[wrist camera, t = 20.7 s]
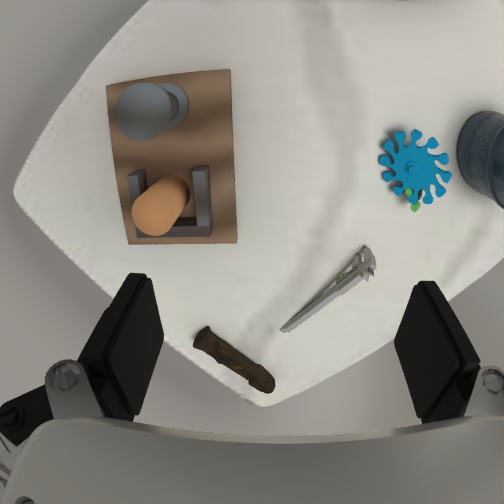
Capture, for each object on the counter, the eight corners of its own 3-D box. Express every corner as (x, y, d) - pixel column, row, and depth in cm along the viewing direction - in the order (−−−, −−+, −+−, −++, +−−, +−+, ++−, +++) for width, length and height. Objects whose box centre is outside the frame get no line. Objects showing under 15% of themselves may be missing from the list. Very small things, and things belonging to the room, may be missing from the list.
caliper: (364, 242, 45) (376, 264, 40) (368, 246, 45) (381, 268, 40) (279, 328, 54) (280, 355, 48) (284, 331, 54) (285, 357, 48)
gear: (377, 124, 35) (453, 141, 29) (394, 116, 38) (461, 131, 32) (376, 201, 42) (442, 224, 35) (392, 186, 45) (452, 205, 38)
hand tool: (193, 332, 55) (188, 351, 51) (208, 322, 53) (204, 341, 49) (264, 383, 61) (263, 401, 57) (279, 375, 60) (279, 394, 56)
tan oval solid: (151, 177, 40) (127, 195, 33) (187, 172, 39) (170, 190, 32) (157, 212, 42) (136, 237, 35) (192, 209, 42) (177, 234, 34)
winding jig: (111, 85, 35) (71, 88, 26) (230, 70, 34) (219, 63, 25) (132, 239, 46) (105, 275, 37) (237, 238, 45) (231, 277, 36)
